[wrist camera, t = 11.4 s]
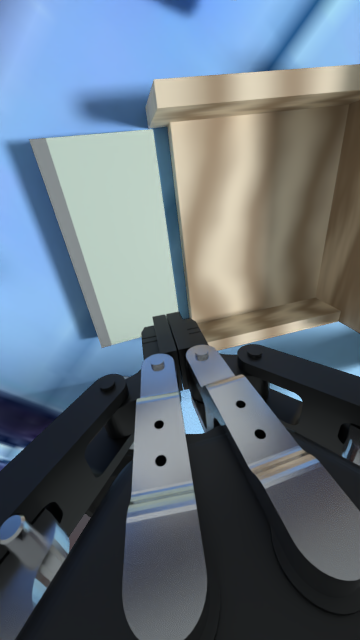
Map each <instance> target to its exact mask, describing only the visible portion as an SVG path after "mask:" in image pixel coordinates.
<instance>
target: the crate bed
mask: <svg viewBox="0 0 360 640" xmlns="http://www.w3.org/2000/svg"><path fill="white" fill-rule="evenodd" d="M145 109H146V116H147V122H148V129H149V128H159V127H167V128H168V137H169V145H170V154H171V163H172V171H173V180H174V189H175V197H176V206H177V214H178V223H179V232H180V240H181V249H182V258H183V266H184V275H185V283H186V292H187V301H188V309H189V318H191V319H192V320H194V321H196V323H197V324H198V326H199V328H200V330H201V332H202V334H203V335H204V337H205V339H206V341H207V343H208V344H209V346H212V347H214V348H215V349H216V350H217V351H218V350H222V349H226V348H230V347H235V346H239V345H243V344H247V343H251V342H255V341H259V340H263V339H267V338H272V337H276V336H280V335H284V334H288V333H292V332H296V331H300V330H305V329H309V328H313V327H317V326H321V325H325V324H329V323H333V322H337V321H339V322H341V323H342V324H344V325H346V326H348V327H349V328H351V329H353V330H355V331H356V332H358V333H360V64H357V65H343V66H330V67H316V68H303V69H290V70H276V71H263V72H249V73H236V74H222V75H209V76H195V77H182V78H169V79H155V80H154V81H153V84H152V87H151V90H150V94H149V97H148V100H147V104H146V107H145Z"/></svg>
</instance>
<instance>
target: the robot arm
mask: <svg viewBox="0 0 360 640" xmlns="http://www.w3.org/2000/svg"><path fill="white" fill-rule="evenodd" d="M152 318H153V323H154V325H153V326H148V327H144V329H143V331H142V332H141V337H142V347H143V356H144V361H143V363H142V366H141V370H140V371H139V372H138V373H136V374H135V375H133V376H131V377H129V378H127V379H125V378H124V377H123V376H121V375H118V374H110V375H106V376H104V377H102V378H100V379H98V380H97V381H96V382H94V383H93V384H92V385H91V386H90V387H89V388H88V389H87V390H86V391H85V392H84V393H83V394H82V395H81V396H80V397H79V398H77V399H76V400H75V401H74V402H73V403H72V404H71V405H70V406H69V407H68V408H67V409H66V410H65V411H64V412H63V413H62V414H60V415H59V416H58V417H57V418H56V419H55V420H54V421H53V422H52V423H51V424H50V425H49V426H48V427H47V428H46V429H45V430H44V431H42V432H41V433H40V434H39V435H38V436H37V437H36V438H35V439H34V440H33V441H32V442H31V443H30V444H29V445H28V446H27V447H25V448H24V449H23V450H22V451H21V452H20V453H19V454H18V455H17V456H16V457H15V458H14V459H13V460H12V461H11V462H10V463H8V464H7V465H6V466H5V467H4V468H3V469H2V470H1V471H0V640H360V377H359V376H356V375H352V374H349V373H346V372H343V371H340V370H337V369H334V368H330V367H327V366H324V365H321V364H318V363H315V362H311V361H308V360H305V359H302V358H299V357H296V356H293V355H289V354H286V353H283V352H280V351H277V350H274V349H271V348H267V347H264V346H261V345H256V344H250V345H245V346H243V347H241V348H240V349H239V350H238V353H237V355H225V354H219V353H218V351H217V350H216V349H215V348H214V347H212V346H209V344H208V343H207V341H206V339H205V337H204V335H203V334H202V332H201V330H200V328H199V326H198V324H197V323H196V321H194V320H192V319H191V318H188V319H182V317H181V315H180V312H174V313H168V314H166V315H165V314H164V315H158V316H153V317H152ZM270 383H272V384H274V385H277V386H279V387H282V388H284V389H287V390H289V391H292V392H294V393H296V394H297V395H299V396H300V398H301V399H302V401H303V402H301V401H299V400H296V399H294V398H291V397H289V396H287V395H284V394H282V393H280V392H277V391H275V390H273V389H270V388H269V387H270ZM182 384H183V387H184V390H186V389H190V392H191V399H192V403H193V406H194V408H195V411H196V413H197V415H198V418H199V420H200V423H201V425H202V427H203V430H204V432H205V433H203V434H186V433H185V427H184V421H183V415H182V408H181V393H180V391H182V390H183V388H182ZM103 426H104V427H103ZM102 427H103V428H102ZM97 433H98V434H97ZM92 439H93V440H92ZM91 440H92V441H91ZM133 442H134V454H133V460H132V461H130V462H129V463H128V464H127V465H126V466H125V467H124V468H123V469H122V471H121V472H120V473H119V475H118V476H117V477H116V479H115V480H114V482H113V483H112V485H111V487H110V488H109V490H108V491H107V493H106V495H105V496H104V498H103V499H102V501H101V503H100V504H99V506H98V507H97V509H96V511H95V512H94V514H93V515H92V517H91V519H90V520H89V522H88V524H87V525H86V527H85V528H84V530H83V532H82V533H81V535H80V536H79V538H78V539H77V541H76V543H75V544H74V546H73V547H72V549H71V551H70V552H69V536H70V534H71V533H72V531H73V530H74V528H75V527H76V525H77V524H78V523H79V521H80V520H81V518H82V517H83V515H84V514H85V512H86V511H87V510H88V508H89V507H90V505H91V504H92V502H93V501H94V499H95V498H96V496H97V495H98V494H99V492H100V491H101V489H102V488H103V486H104V485H105V483H106V482H107V480H108V479H109V477H110V476H111V475H112V473H113V472H114V470H115V469H116V467H117V466H118V464H119V463H120V461H121V460H122V458H123V457H124V456H125V454H126V453H127V451H128V450H129V448H130V447H131V445H132V444H133ZM68 553H69V554H68Z"/></svg>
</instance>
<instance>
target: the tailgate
mask: <svg viewBox="0 0 360 640" xmlns="http://www.w3.org/2000/svg"><path fill="white" fill-rule="evenodd" d="M29 140H30V143H31V146H32V149H33V152H34V155H35V158H36V161H37V163H38V166H39V169H40V172H41V175H42V178H43V181H44V183H45V186H46V189H47V192H48V195H49V198H50V201H51V204H52V206H53V209H54V212H55V215H56V218H57V221H58V224H59V226H60V229H61V232H62V235H63V238H64V241H65V244H66V247H67V249H68V252H69V255H70V258H71V261H72V264H73V267H74V269H75V272H76V275H77V278H78V281H79V284H80V287H81V290H82V292H83V295H84V298H85V301H86V304H87V307H88V310H89V312H90V315H91V318H92V321H93V324H94V327H95V330H96V333H97V335H98V338H99V341H100V344H101V347H102V348H103V347H107V346H111V345H114V344H117V343H121V342H125V341H128V340H132V339H136V338H139V337H141V332H142V331H143V329H144V327H148V326H153V325H154V323H153V318H152V317H153V316H158V315H164V314H165V315H166V314H168V313H174V312H178V305H177V297H176V290H175V283H174V276H173V269H172V262H171V255H170V248H169V240H168V233H167V226H166V219H165V212H164V205H163V198H162V190H161V183H160V176H159V169H158V162H157V155H156V148H155V140H154V133H153V129H150V130H138V131H126V132H114V133H102V134H90V135H78V136H66V137H54V138H41V139H29Z"/></svg>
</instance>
